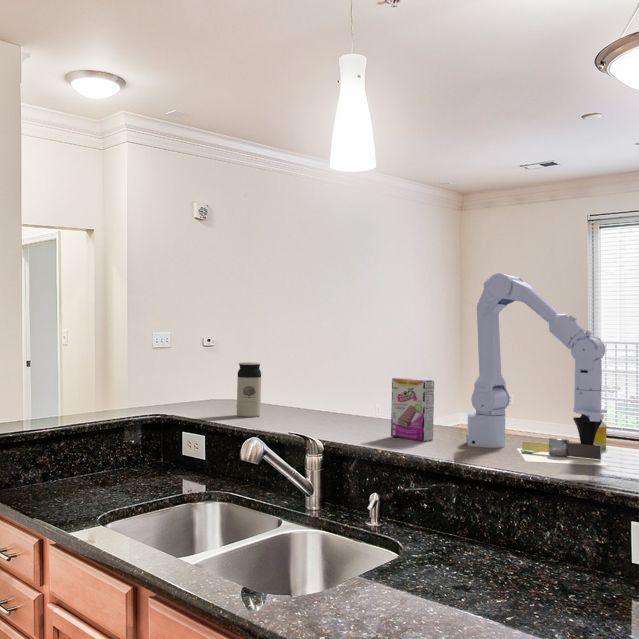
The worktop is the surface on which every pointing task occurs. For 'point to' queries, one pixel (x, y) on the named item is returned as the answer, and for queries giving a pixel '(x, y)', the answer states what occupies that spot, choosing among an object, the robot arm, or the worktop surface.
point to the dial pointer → (564, 448)
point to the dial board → (556, 458)
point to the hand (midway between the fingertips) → (587, 449)
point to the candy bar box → (412, 408)
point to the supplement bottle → (601, 434)
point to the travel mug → (249, 389)
